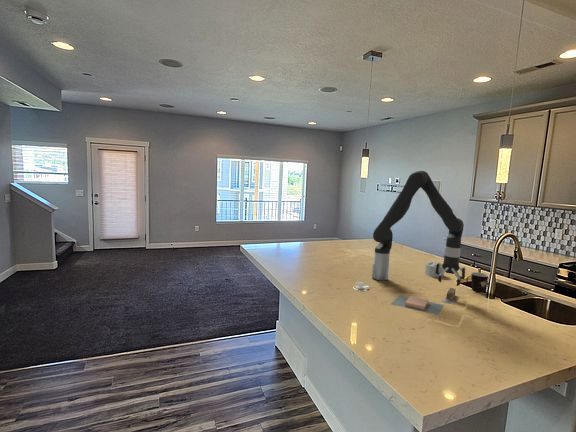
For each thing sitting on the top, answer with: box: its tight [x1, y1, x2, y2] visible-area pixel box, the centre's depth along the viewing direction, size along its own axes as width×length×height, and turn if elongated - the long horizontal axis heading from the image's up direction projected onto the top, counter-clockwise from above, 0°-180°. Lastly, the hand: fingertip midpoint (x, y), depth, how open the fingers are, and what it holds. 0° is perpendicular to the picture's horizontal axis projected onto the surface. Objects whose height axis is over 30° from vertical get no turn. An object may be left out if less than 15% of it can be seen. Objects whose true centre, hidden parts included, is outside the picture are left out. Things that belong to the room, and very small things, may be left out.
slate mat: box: [390, 294, 444, 316], centre depth 160 cm, size 22×16×1 cm
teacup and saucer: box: [352, 281, 370, 292], centre depth 184 cm, size 9×8×4 cm
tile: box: [405, 295, 430, 310], centre depth 160 cm, size 9×2×11 cm
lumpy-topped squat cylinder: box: [424, 260, 445, 278], centre depth 218 cm, size 10×13×9 cm
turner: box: [440, 287, 456, 305], centre depth 171 cm, size 6×18×4 cm, turn 146°
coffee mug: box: [465, 271, 489, 294], centre depth 187 cm, size 12×9×10 cm
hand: (448, 283), depth 174 cm, fingers open, 8 cm apart
